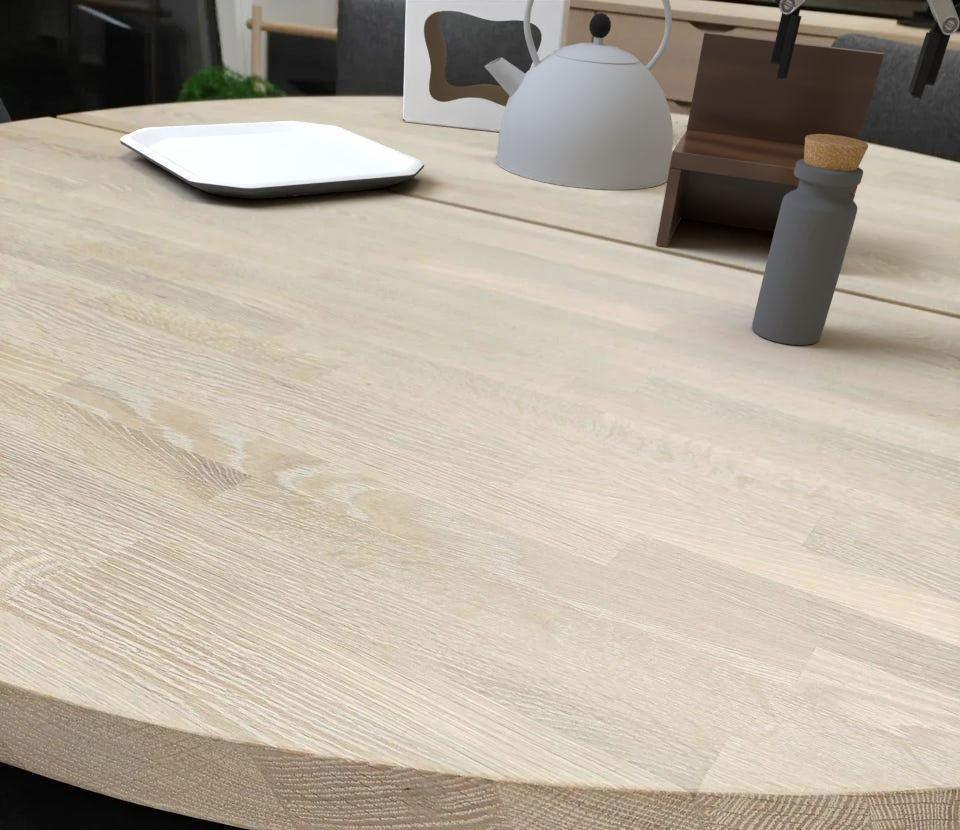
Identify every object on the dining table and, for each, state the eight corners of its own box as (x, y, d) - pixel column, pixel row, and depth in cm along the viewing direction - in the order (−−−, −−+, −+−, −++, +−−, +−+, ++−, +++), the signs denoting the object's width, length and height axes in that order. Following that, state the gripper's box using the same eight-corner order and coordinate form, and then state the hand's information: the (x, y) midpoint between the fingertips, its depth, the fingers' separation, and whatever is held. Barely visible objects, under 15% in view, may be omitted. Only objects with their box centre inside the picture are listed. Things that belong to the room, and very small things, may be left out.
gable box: (400, 121, 145) (406, -120, 128) (417, 106, 155) (425, -118, 138) (552, 138, 144) (578, -103, 127) (558, 122, 154) (583, -103, 137)
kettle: (481, 180, 120) (497, -46, 106) (475, 141, 138) (488, -57, 124) (684, 195, 122) (725, -25, 108) (652, 154, 140) (684, -39, 126)
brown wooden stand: (671, 214, 114) (705, 31, 103) (831, 238, 111) (883, 52, 100) (655, 245, 103) (691, 45, 92) (832, 273, 100) (890, 69, 89)
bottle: (825, 330, 86) (880, 140, 77) (814, 351, 82) (871, 152, 73) (758, 316, 88) (805, 128, 79) (744, 335, 83) (791, 139, 74)
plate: (209, 212, 100) (207, 189, 99) (107, 149, 118) (104, 128, 117) (445, 190, 115) (446, 169, 114) (322, 137, 133) (322, 118, 131)
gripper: (1063, -200, 65) (963, 96, 75) (795, -224, 67) (733, 64, 78) (1087, -212, 59) (975, 110, 69) (792, -238, 62) (726, 76, 72)
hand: (847, 86), depth 73 cm, fingers open, 9 cm apart
